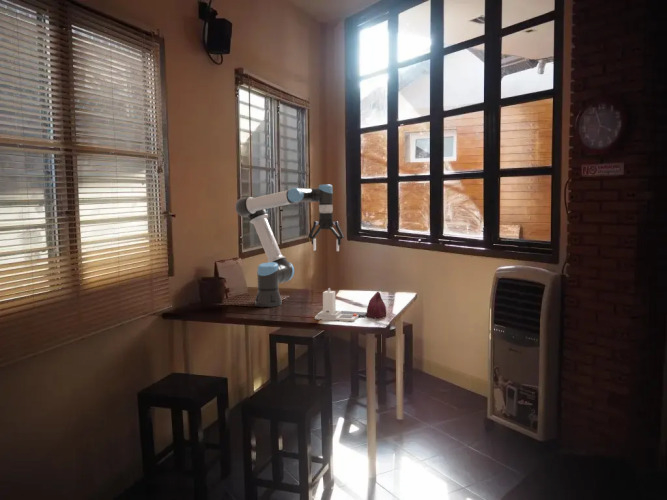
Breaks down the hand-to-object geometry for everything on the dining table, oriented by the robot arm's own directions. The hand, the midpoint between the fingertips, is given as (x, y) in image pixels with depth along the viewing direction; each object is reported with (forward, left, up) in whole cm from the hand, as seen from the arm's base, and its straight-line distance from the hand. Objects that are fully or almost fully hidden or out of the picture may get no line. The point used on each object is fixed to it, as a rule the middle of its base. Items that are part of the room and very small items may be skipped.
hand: (326, 250), depth 285 cm
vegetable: (+33, -19, -31) cm, 49 cm away
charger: (+11, -29, -29) cm, 43 cm away
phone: (+21, -20, -31) cm, 42 cm away
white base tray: (+15, -29, -31) cm, 45 cm away
